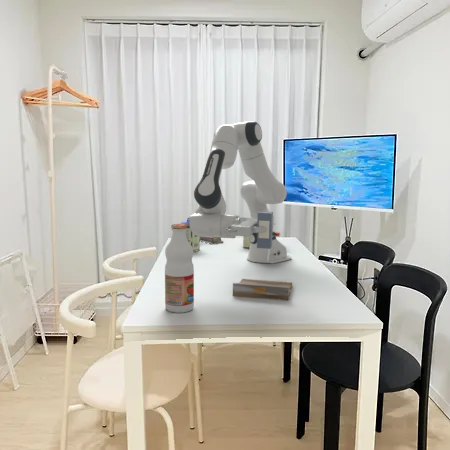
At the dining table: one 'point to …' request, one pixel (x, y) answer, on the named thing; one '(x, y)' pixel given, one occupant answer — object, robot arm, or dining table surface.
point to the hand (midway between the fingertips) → (267, 228)
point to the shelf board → (262, 289)
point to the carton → (266, 237)
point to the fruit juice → (179, 272)
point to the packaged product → (211, 239)
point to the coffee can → (193, 239)
